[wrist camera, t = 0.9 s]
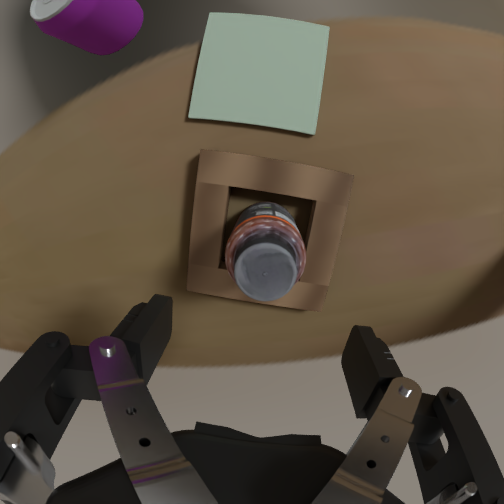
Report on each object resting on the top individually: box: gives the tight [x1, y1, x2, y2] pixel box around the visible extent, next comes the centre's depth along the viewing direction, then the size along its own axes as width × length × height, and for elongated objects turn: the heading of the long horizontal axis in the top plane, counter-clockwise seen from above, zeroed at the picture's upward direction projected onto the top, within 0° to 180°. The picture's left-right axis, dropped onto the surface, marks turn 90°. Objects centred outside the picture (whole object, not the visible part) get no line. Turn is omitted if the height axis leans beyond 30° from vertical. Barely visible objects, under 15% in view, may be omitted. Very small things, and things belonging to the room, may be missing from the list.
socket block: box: [186, 149, 354, 312], centre depth 28 cm, size 14×14×2 cm
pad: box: [188, 13, 330, 135], centre depth 23 cm, size 12×12×1 cm
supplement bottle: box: [225, 202, 306, 301], centre depth 23 cm, size 6×6×11 cm
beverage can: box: [30, 0, 143, 55], centre depth 17 cm, size 8×8×12 cm
